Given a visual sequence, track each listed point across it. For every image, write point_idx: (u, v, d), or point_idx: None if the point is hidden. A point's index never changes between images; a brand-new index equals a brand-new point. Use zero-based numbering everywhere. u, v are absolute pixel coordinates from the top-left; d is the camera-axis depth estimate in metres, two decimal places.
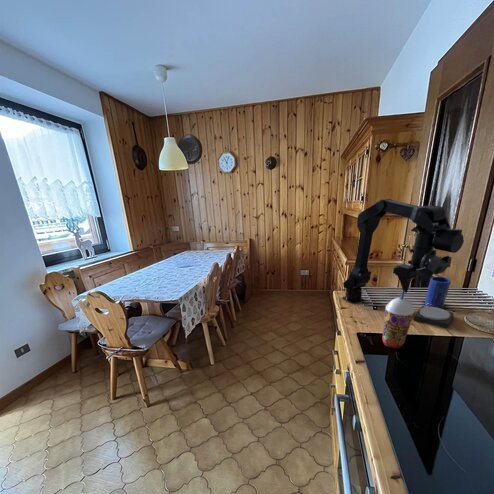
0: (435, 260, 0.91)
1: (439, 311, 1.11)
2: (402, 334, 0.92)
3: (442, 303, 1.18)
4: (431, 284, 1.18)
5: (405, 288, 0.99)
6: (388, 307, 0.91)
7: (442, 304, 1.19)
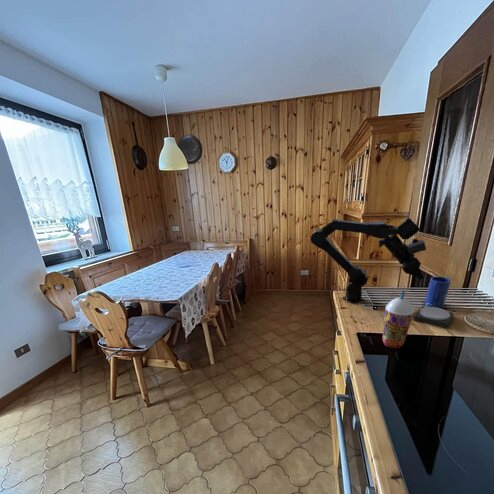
0: (414, 244, 1.13)
1: (439, 311, 1.11)
2: (402, 334, 0.92)
3: (442, 303, 1.18)
4: (431, 284, 1.18)
5: (421, 275, 1.13)
6: (388, 307, 0.91)
7: (442, 304, 1.19)
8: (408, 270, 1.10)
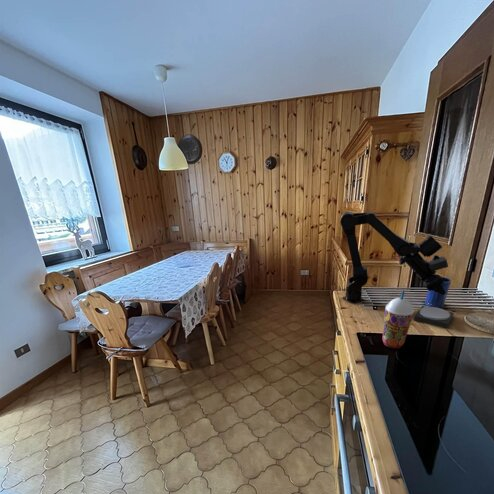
0: (436, 261, 1.14)
1: (439, 311, 1.11)
2: (402, 334, 0.92)
3: (442, 303, 1.18)
4: None
5: (443, 291, 1.15)
6: (388, 307, 0.91)
7: (442, 304, 1.19)
8: (431, 288, 1.11)
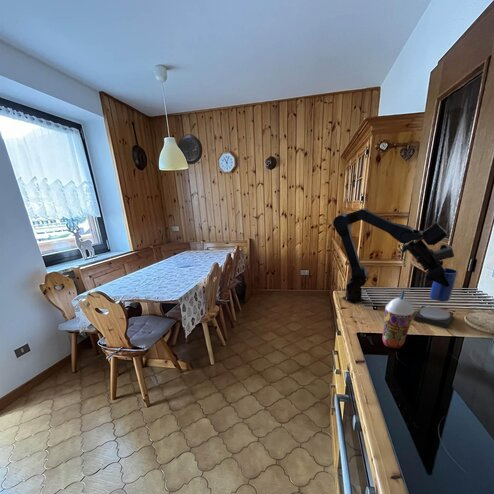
0: (441, 251, 1.07)
1: (439, 311, 1.11)
2: (402, 334, 0.92)
3: (447, 297, 1.11)
4: None
5: (446, 282, 1.07)
6: (388, 307, 0.91)
7: (446, 297, 1.11)
8: (431, 277, 1.05)
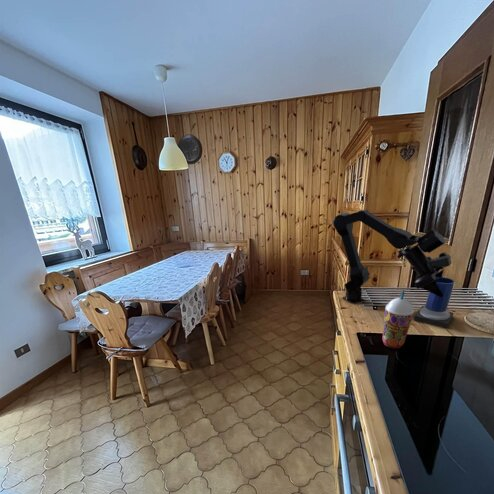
0: (437, 259, 1.02)
1: None
2: (402, 334, 0.92)
3: (441, 307, 1.05)
4: None
5: (439, 292, 1.03)
6: (388, 307, 0.91)
7: (441, 308, 1.06)
8: (419, 285, 1.02)
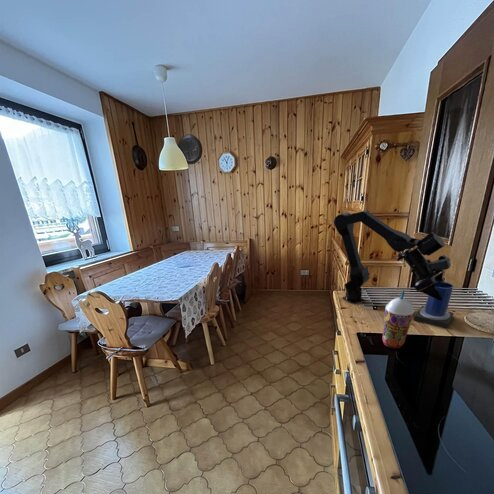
0: (436, 262, 1.03)
1: None
2: (402, 334, 0.92)
3: (440, 312, 1.06)
4: None
5: (438, 296, 1.02)
6: (388, 307, 0.91)
7: (440, 313, 1.06)
8: (419, 288, 1.02)
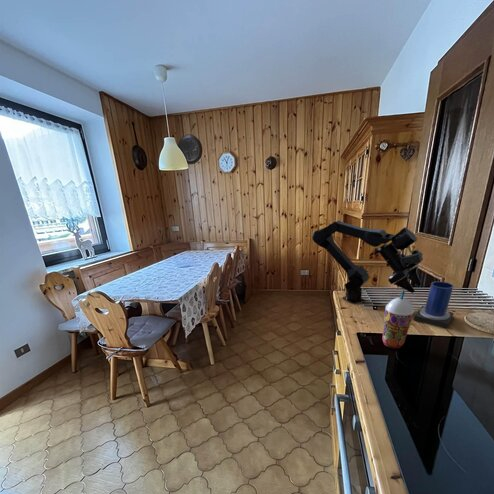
0: (409, 256, 1.08)
1: None
2: (402, 334, 0.92)
3: (440, 312, 1.06)
4: (430, 288, 1.07)
5: (411, 288, 1.08)
6: (388, 307, 0.91)
7: (440, 313, 1.06)
8: (392, 281, 1.07)
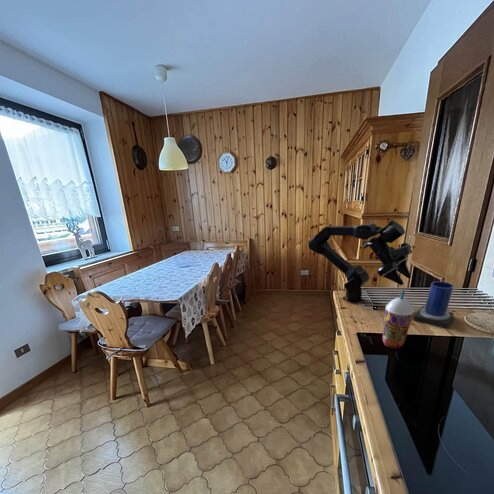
0: (398, 248, 1.09)
1: None
2: (402, 334, 0.92)
3: (440, 312, 1.06)
4: (430, 288, 1.07)
5: (399, 281, 1.09)
6: (388, 307, 0.91)
7: (440, 313, 1.06)
8: (381, 273, 1.08)
